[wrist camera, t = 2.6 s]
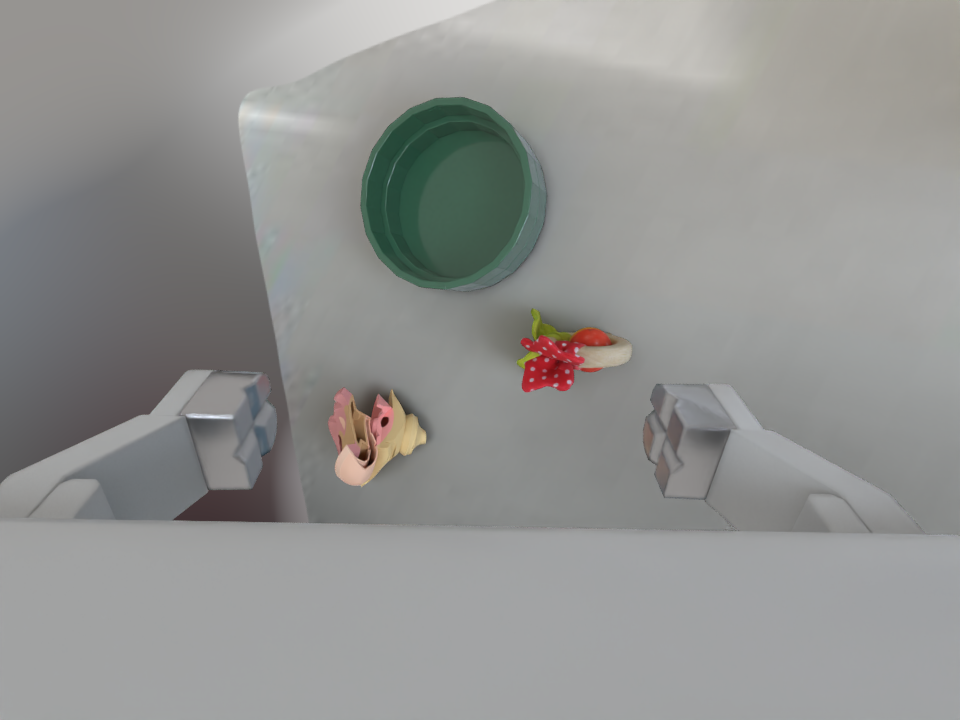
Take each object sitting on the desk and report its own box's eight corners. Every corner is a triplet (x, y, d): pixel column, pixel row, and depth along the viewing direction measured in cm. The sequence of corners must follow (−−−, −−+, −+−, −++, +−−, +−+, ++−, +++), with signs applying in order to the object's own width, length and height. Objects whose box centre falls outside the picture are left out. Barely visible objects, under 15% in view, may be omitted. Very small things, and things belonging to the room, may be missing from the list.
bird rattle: (608, 304, 47) (505, 310, 47) (656, 300, 36) (523, 306, 36) (610, 375, 48) (509, 381, 47) (659, 392, 37) (527, 400, 36)
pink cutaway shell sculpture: (436, 381, 52) (432, 466, 45) (413, 440, 59) (406, 521, 52) (340, 363, 50) (320, 448, 43) (327, 426, 57) (309, 508, 50)
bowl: (584, 191, 45) (571, 176, 40) (471, 325, 50) (447, 326, 45) (460, 85, 48) (433, 58, 43) (364, 220, 53) (330, 210, 48)
